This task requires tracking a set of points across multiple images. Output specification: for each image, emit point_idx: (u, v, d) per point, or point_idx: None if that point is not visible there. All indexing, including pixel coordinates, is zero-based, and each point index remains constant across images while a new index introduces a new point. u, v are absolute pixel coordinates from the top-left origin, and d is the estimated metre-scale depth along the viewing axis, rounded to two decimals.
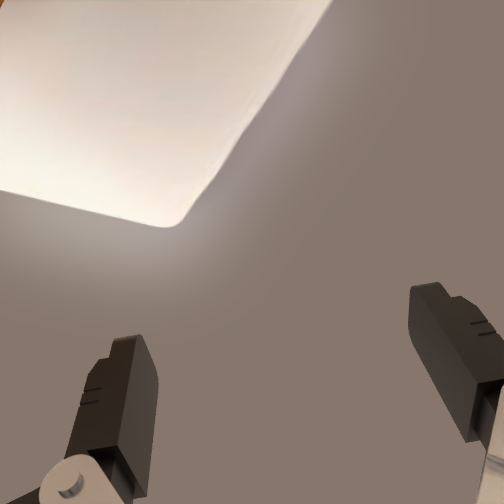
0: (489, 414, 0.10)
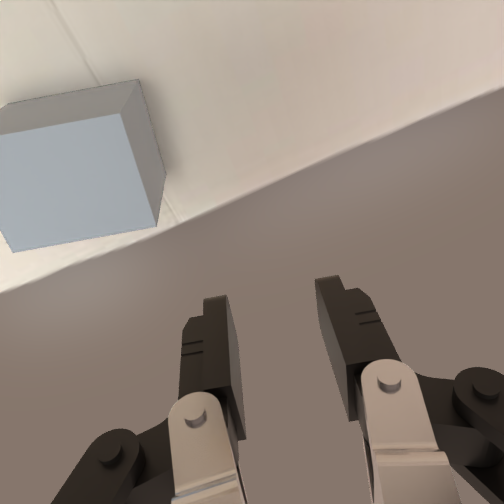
0: (358, 393, 0.10)
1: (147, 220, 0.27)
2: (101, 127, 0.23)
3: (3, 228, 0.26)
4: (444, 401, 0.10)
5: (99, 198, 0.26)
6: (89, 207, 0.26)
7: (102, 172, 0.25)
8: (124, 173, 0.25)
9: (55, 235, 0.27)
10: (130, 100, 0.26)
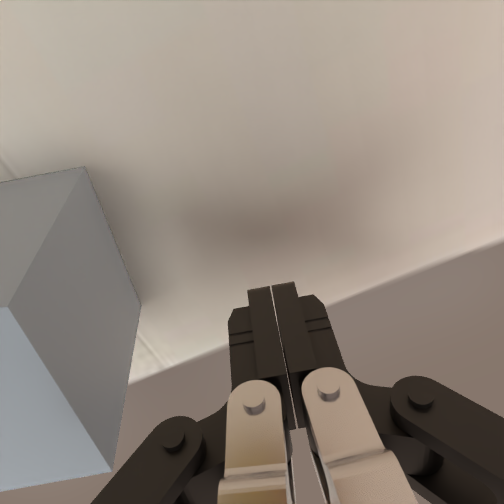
0: (302, 401, 0.11)
1: (93, 464, 0.14)
2: None
3: None
4: (383, 410, 0.10)
5: None
6: None
7: None
8: (34, 402, 0.12)
9: None
10: (54, 234, 0.13)
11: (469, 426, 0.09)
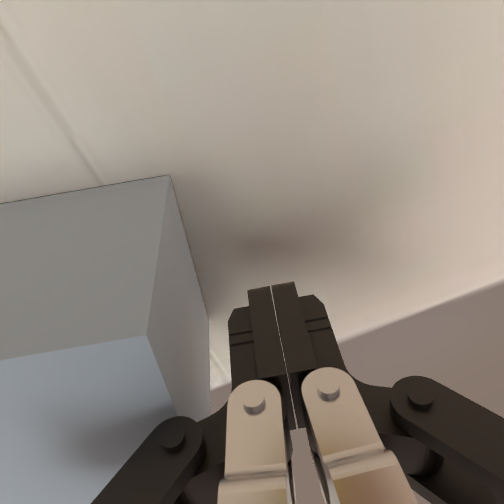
0: (302, 401, 0.11)
1: None
2: (98, 363, 0.09)
3: None
4: (383, 410, 0.10)
5: (90, 476, 0.11)
6: (69, 490, 0.12)
7: (99, 439, 0.11)
8: None
9: None
10: (161, 250, 0.12)
11: (469, 426, 0.09)
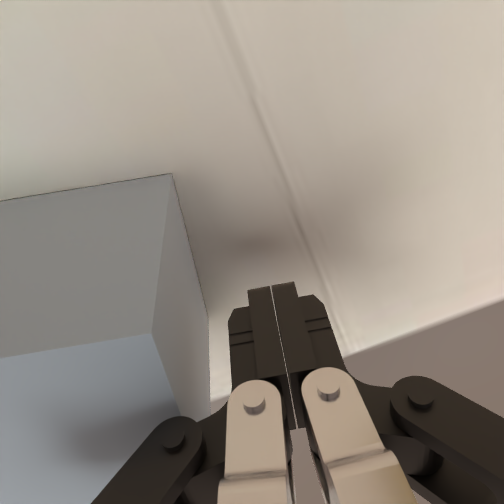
0: (302, 401, 0.11)
1: None
2: (102, 360, 0.09)
3: None
4: (382, 409, 0.10)
5: (93, 472, 0.12)
6: (71, 486, 0.12)
7: (102, 435, 0.11)
8: None
9: None
10: (164, 249, 0.12)
11: (469, 426, 0.09)
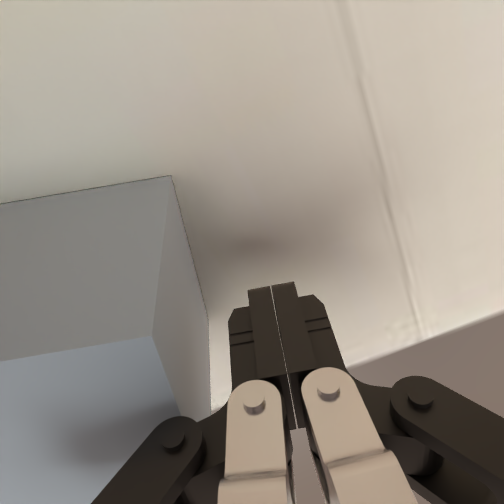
0: (302, 401, 0.11)
1: None
2: (103, 363, 0.09)
3: None
4: (382, 410, 0.10)
5: (94, 474, 0.12)
6: (72, 489, 0.12)
7: (103, 437, 0.11)
8: None
9: None
10: (164, 251, 0.12)
11: (469, 426, 0.09)
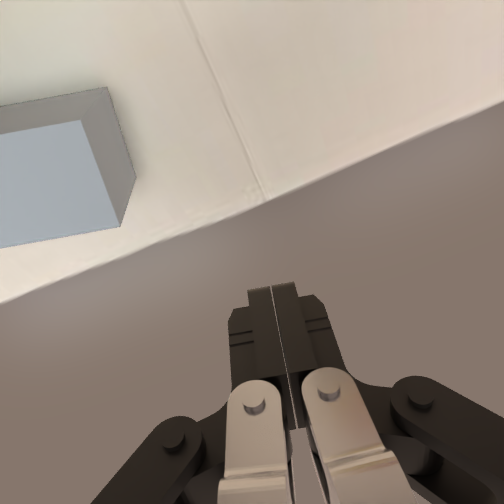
0: (302, 401, 0.11)
1: (111, 220, 0.28)
2: (63, 133, 0.25)
3: None
4: (383, 410, 0.10)
5: (64, 199, 0.27)
6: (55, 208, 0.27)
7: (66, 175, 0.26)
8: (86, 176, 0.26)
9: (23, 235, 0.28)
10: (94, 107, 0.28)
11: (469, 426, 0.09)
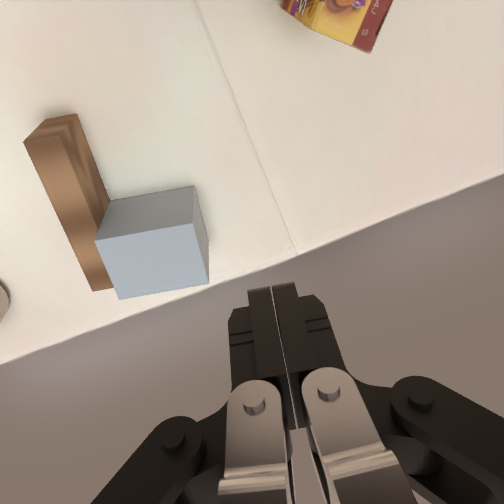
0: (302, 401, 0.11)
1: (203, 280, 0.43)
2: (181, 230, 0.40)
3: (115, 285, 0.43)
4: (383, 409, 0.10)
5: (175, 268, 0.42)
6: (169, 273, 0.42)
7: (179, 254, 0.41)
8: (191, 254, 0.41)
9: (146, 289, 0.43)
10: (193, 207, 0.43)
11: (469, 426, 0.09)
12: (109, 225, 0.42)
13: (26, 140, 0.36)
